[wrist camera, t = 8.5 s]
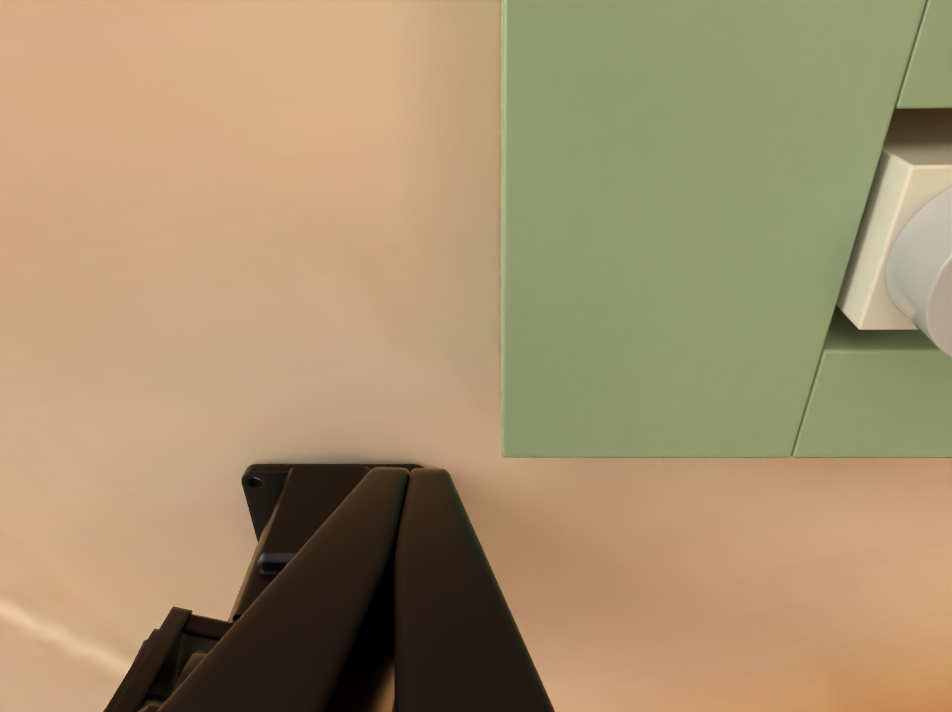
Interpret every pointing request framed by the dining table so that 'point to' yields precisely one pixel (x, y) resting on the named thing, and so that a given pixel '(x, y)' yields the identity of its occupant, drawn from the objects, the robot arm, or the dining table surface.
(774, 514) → the dining table surface
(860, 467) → the dining table surface
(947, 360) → the stand
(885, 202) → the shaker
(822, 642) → the dining table surface
